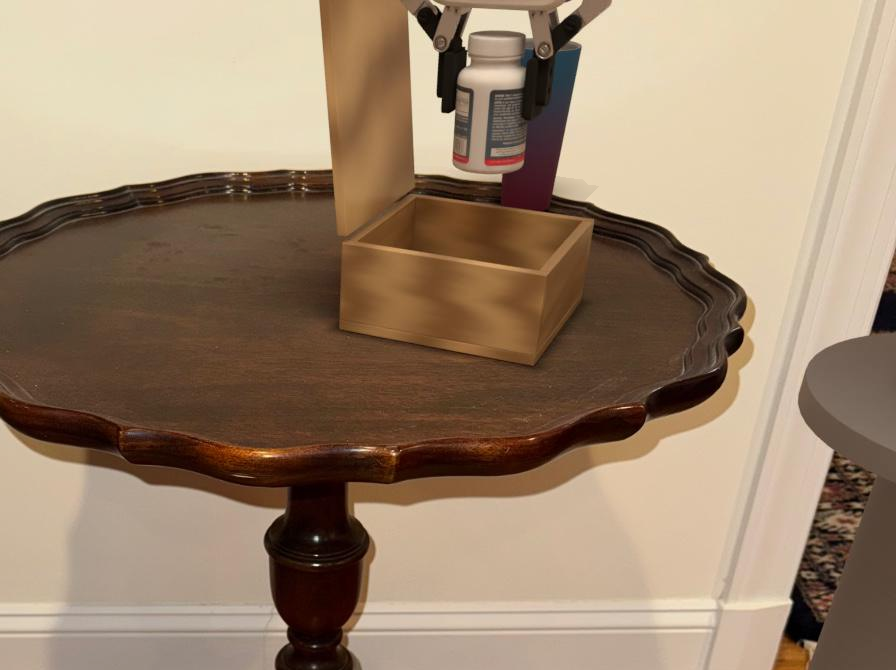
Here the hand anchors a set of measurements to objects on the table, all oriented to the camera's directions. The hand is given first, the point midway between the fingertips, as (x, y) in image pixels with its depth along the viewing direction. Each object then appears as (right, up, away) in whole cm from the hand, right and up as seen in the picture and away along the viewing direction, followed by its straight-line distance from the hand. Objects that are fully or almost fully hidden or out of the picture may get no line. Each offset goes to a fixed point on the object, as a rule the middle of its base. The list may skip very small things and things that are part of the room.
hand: (491, 110), depth 81 cm
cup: (+9, +5, +34) cm, 36 cm away
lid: (-8, +2, +3) cm, 9 cm away
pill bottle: (0, -3, +2) cm, 4 cm away
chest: (-1, -13, +9) cm, 16 cm away
